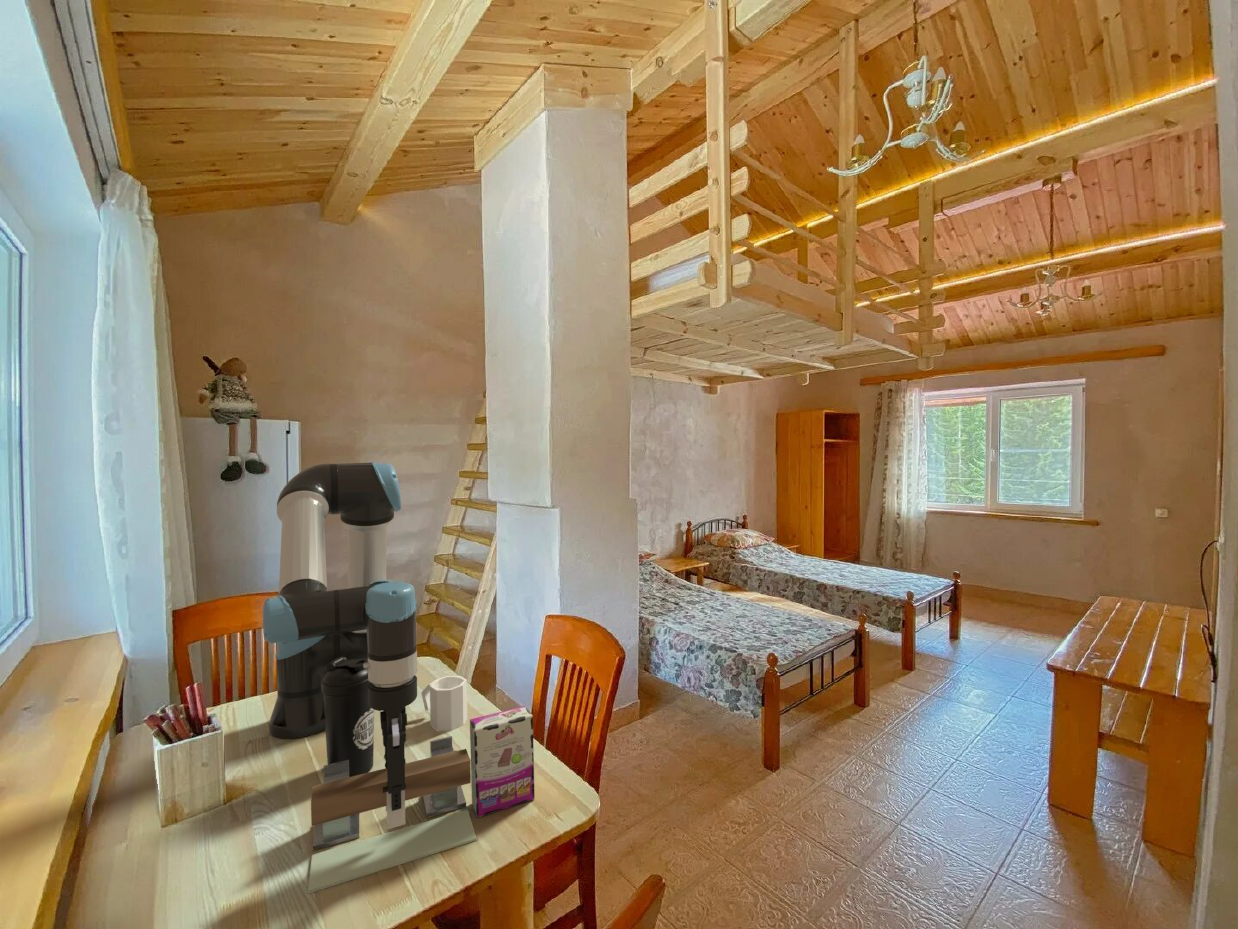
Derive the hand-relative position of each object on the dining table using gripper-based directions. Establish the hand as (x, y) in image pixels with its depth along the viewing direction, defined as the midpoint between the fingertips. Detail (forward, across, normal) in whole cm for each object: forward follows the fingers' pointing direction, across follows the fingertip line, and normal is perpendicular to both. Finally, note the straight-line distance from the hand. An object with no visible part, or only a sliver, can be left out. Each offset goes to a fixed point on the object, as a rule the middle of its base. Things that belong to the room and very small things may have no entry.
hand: (395, 816), depth 90 cm
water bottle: (+6, -28, -7) cm, 30 cm away
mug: (+6, -40, +13) cm, 43 cm away
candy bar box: (+6, -4, +19) cm, 20 cm away
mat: (+6, 0, 0) cm, 6 cm away
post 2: (+6, -9, +9) cm, 14 cm away
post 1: (+6, -9, -9) cm, 14 cm away
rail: (-3, 0, 0) cm, 3 cm away
